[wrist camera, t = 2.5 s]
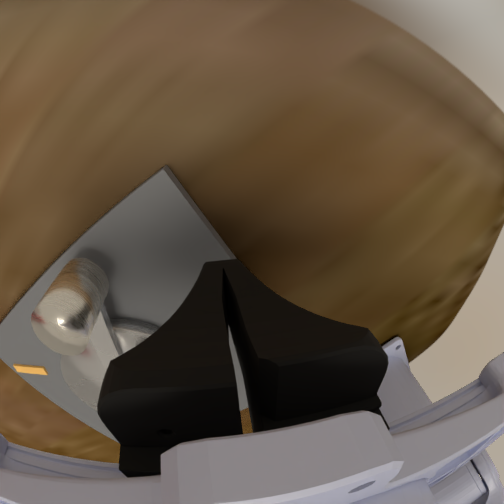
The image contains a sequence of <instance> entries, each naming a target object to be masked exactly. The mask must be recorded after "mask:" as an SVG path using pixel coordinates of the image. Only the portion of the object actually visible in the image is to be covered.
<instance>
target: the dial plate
mask: <svg viewBox="0 0 504 504" xmlns="http://www.w3.org/2000/svg"><path fill="white" fill-rule="evenodd" d="M74 258H86V259H89V260H92V261H93V262H95V263H96V264H98V265H99V266H100V267H101V268H102V269H103V271H104V272H105V274H106V276H107V278H108V282H109V290H108V293H107V296H106V298H105V301H104V305H105V308H106V311H107V314H108V316H109V318H126V319H133V320H138V321H142V322H145V323H148V324H152V325H154V326H157V327H159V328H160V327H161V326H162V325H163V324H164V323H165V322H166V321H167V320H168V319H169V318H170V317H171V316H172V315H173V314H174V313H175V312H176V310H177V309H178V308H179V307H180V305H181V304H182V303H183V301H184V300H185V298H186V297H187V295H188V294H189V292H190V291H191V289H192V287H193V286H194V284H195V282H196V280H197V278H198V276H199V274H200V272H201V270H202V267H203V264H204V263H205V262H210V261H219V260H229V259H237V258H236V257H235V256H234V254H233V253H232V252H231V250H230V249H229V248H228V246H227V245H226V244H225V242H224V241H223V240H222V238H221V237H220V236H219V234H218V233H217V232H216V230H215V229H214V228H213V226H212V225H211V224H210V222H209V221H208V220H207V218H206V217H205V216H204V214H203V213H202V212H201V210H200V209H199V208H198V206H197V205H196V204H195V202H194V201H193V200H192V198H191V197H190V196H189V194H188V193H187V192H186V190H185V189H184V187H183V186H182V185H181V183H180V182H179V181H178V179H177V178H176V177H175V175H174V174H173V173H172V171H171V170H170V168H169V167H168V166H167V165H165V166H164V167H163V168H161V169H160V170H159V171H157V172H156V173H155V174H153V175H152V176H151V177H150V178H148V179H147V180H146V181H144V182H143V183H142V184H141V185H139V186H138V187H137V188H136V189H134V190H133V191H132V192H131V193H129V194H128V195H127V196H126V197H124V198H123V199H122V200H121V201H120V202H118V203H117V204H116V205H115V206H114V207H113V208H111V209H110V210H109V211H108V212H107V213H106V214H104V215H103V216H102V217H101V218H100V219H99V220H98V221H96V222H95V223H94V224H93V225H92V226H91V227H90V228H89V229H88V230H87V231H85V232H84V233H83V234H82V235H81V236H80V237H79V238H78V239H77V240H76V241H75V242H74V243H73V244H72V245H71V246H70V247H69V248H68V249H67V250H66V251H64V252H63V253H62V254H61V255H60V256H59V257H58V258H57V259H56V261H55V262H54V263H53V264H52V265H51V266H50V267H49V268H48V269H47V270H46V271H45V272H44V273H43V274H42V275H41V276H40V277H39V278H38V279H37V280H36V282H35V283H34V284H33V285H32V286H31V287H30V288H29V289H28V290H27V292H26V293H25V294H24V295H23V296H22V297H21V298H20V300H19V301H18V302H17V303H16V304H15V306H14V307H13V308H12V309H11V310H10V312H9V313H8V314H7V315H6V316H5V318H4V319H3V320H2V321H1V323H0V358H1V359H2V360H3V361H4V362H5V363H6V364H7V365H8V366H9V367H10V368H12V369H13V370H14V371H15V372H16V373H17V374H18V375H20V376H21V377H22V378H23V379H24V380H25V381H27V382H28V383H29V384H30V385H32V386H33V387H34V388H35V389H37V390H38V391H39V392H40V393H42V394H43V395H44V396H46V397H47V398H48V399H50V400H51V401H52V402H54V403H55V404H57V405H58V406H60V407H61V408H62V409H64V410H65V411H67V412H68V413H70V414H71V415H73V416H74V417H76V418H77V419H79V420H80V421H82V422H84V423H85V424H87V425H89V426H90V427H92V428H94V429H95V430H97V431H99V432H100V433H102V434H104V435H106V436H107V437H109V438H111V439H113V440H115V441H117V440H116V438H115V437H114V436H113V435H112V434H111V432H110V431H109V430H108V429H107V427H106V426H105V425H104V423H103V422H102V421H101V419H100V417H99V415H98V412H97V411H96V410H95V409H93V408H91V407H90V406H88V405H87V404H86V403H84V402H83V401H82V400H81V399H79V398H78V397H77V396H76V395H75V394H74V393H73V392H72V390H71V389H70V388H69V386H68V385H67V383H66V381H65V380H64V377H63V375H62V371H61V356H62V354H59V353H57V352H55V351H53V350H51V349H50V348H48V347H47V346H46V345H44V344H43V343H42V342H41V341H40V339H39V338H38V337H37V335H36V334H35V332H34V330H33V327H32V324H31V315H32V312H33V311H34V309H35V308H36V306H37V304H38V303H39V301H40V300H41V298H42V297H43V295H44V294H45V292H46V291H47V290H48V288H49V287H50V285H51V284H52V282H53V281H54V280H55V278H56V277H57V275H58V274H59V273H60V271H61V270H62V269H63V267H64V266H65V265H66V263H67V262H68V261H70V260H71V259H74ZM229 345H230V350H231V355H232V360H233V364H234V370H235V376H236V382H237V389H238V398H239V407H240V411H241V410H243V409H245V408H247V407H248V402H247V396H246V391H245V385H244V380H243V375H242V371H241V367H240V364H239V360H238V357H237V353H236V350H235V346H234V343H233V339H232V336H231V332H230V328H229ZM117 442H118V441H117ZM118 443H119V442H118Z"/></svg>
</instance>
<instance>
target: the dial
mask: <svg viewBox="0 0 504 504" xmlns="http://www.w3.org/2000/svg"><path fill="white" fill-rule="evenodd" d="M108 290H109V282H108V278H107V276H106V274H105V272H104V271H103V269H102V268H101V267H100V266H99V265H98V264H96V263H95V262H93V261H92V260H89V259H86V258H74V259H71V260H70V261H68V262H67V263H66V265H65V266H64V267H63V269H62V270H61V271H60V273H59V274H58V275H57V277H56V278H55V280H54V281H53V282H52V284H51V285H50V287H49V288H48V290H47V291H46V292H45V294H44V295H43V297H42V298H41V300H40V301H39V303H38V304H37V306H36V308H35V309H34V311H33V312H32V315H31V324H32V327H33V330H34V332H35V334H36V335H37V337H38V338H39V339H40V341H41V342H42V343H43V344H44V345H46V346H47V347H48V348H50V349H51V350H53V351H55V352H57V353H59V354H62V356H61V371H62V375H63V377H64V380H65V381H66V383H67V385H68V386H69V388H70V389H71V390H72V392H73V393H74V394H75V395H76V396H77V397H78V398H79V399H81V400H82V401H83V402H84V403H86V404H87V405H88V406H90V407H91V408H93V409H95V410H96V411H97V404H98V399H99V395H100V390H101V386H102V382H103V379H104V376H105V373H106V370H107V368H108V366H109V363H110V361H111V360H113V359H115V358H116V357H118V356H120V355H122V354H123V353H125V352H127V351H129V350H130V349H132V348H134V347H135V346H137V345H138V344H140V343H141V342H142V341H144V340H145V339H147V338H148V337H149V336H150V335H152V334H153V333H154V332H155V331H157V330H158V329H159V327H157V326H154V325H152V324H148V323H145V322H142V321H138V320H133V319H126V318H109V316H108V314H107V311H106V308H105V305H104V301H105V298H106V296H107V293H108Z"/></svg>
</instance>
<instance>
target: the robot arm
mask: <svg viewBox="0 0 504 504" xmlns="http://www.w3.org/2000/svg"><path fill="white" fill-rule="evenodd" d="M229 328H230V332H231V336H232V339H233V343H234V346H235V350H236V353H237V357H238V360H239V364H240V367H241V371H242V375H243V380H244V385H245V391H246V396H247V402H248V407H249V413H250V418H251V423H252V429H253V433H249V434H243V431H242V423H241V415H240V407H239V398H238V389H237V382H236V376H235V370H234V364H233V360H232V355H231V350H230V345H229ZM97 412H98V415H99V417H100V419H101V421H102V422H103V423H104V425H105V426H106V427H107V429H108V430H109V431H110V432H111V434H112V435H113V436H114V437H115V438H116V440H117V441H118V442H119V443H120V444H121V446H120V458H119V464H117V463H107V462H98V461H90V460H84V459H77V458H71V457H66V456H61V455H56V454H51V453H47V452H43V451H39V450H35V449H31V448H27V447H23V446H20V445H17V444H13V443H10V442H8V441H7V440H6V438H5V437H4V436H3V435H2V434H1V433H0V504H504V488H503V485H502V484H501V482H500V479H499V474H498V471H497V469H496V467H495V465H494V463H493V462H492V460H491V458H490V456H489V455H488V453H487V451H486V450H485V448H487V447H488V446H489V445H490V444H491V443H493V442H494V441H495V440H496V439H497V438H499V437H500V436H501V435H502V434H503V433H504V352H503V353H502V354H500V355H499V356H497V357H496V358H494V359H492V360H491V361H490V362H489V363H488V364H487V365H486V366H485V368H484V369H483V370H482V372H481V374H480V375H479V378H478V379H476V380H475V381H473V382H471V383H470V384H468V385H466V386H465V387H463V388H461V389H459V390H458V391H456V392H454V393H452V394H450V395H448V396H447V397H445V398H443V399H441V400H439V401H437V402H435V403H433V404H432V402H431V401H430V399H429V398H428V396H427V395H426V393H425V392H424V391H423V389H422V387H421V386H420V384H419V383H418V381H417V380H416V379H415V377H414V376H413V374H412V373H411V371H410V368H409V364H408V360H407V356H406V352H405V349H404V345H403V341H402V339H401V338H400V337H395V338H394V339H392V340H391V341H389V342H388V343H387V344H385V345H384V346H381V345H380V343H379V342H378V340H377V339H376V338H375V337H374V335H373V334H372V333H371V332H370V330H369V329H368V328H364V327H359V326H355V325H350V324H345V323H341V322H337V321H334V320H331V319H328V318H325V317H322V316H319V315H317V314H314V313H312V312H309V311H307V310H305V309H303V308H300V307H298V306H296V305H294V304H293V303H291V302H289V301H287V300H286V299H284V298H282V297H281V296H279V295H277V294H276V293H275V292H273V291H272V290H270V289H269V288H268V287H267V286H265V285H264V284H263V283H262V282H261V281H260V280H258V279H257V278H256V277H255V276H254V275H253V274H252V273H251V272H250V271H249V270H248V269H247V268H246V267H245V266H244V265H243V264H242V263H241V261H240V260H238V259H229V260H219V261H210V262H205V263H204V264H203V267H202V270H201V272H200V274H199V276H198V278H197V280H196V282H195V284H194V286H193V287H192V289H191V291H190V292H189V294H188V295H187V297H186V298H185V300H184V301H183V303H182V304H181V305H180V307H179V308H178V309H177V310H176V312H175V313H174V314H173V315H172V316H171V317H170V318H169V319H168V320H167V321H166V322H165V323H164V324H163V325H162V326H161V327H160V328H159V329H158V330H157V331H155V332H154V333H153V334H152V335H150V336H149V337H148V338H147V339H145V340H144V341H142V342H141V343H140V344H138V345H137V346H135V347H134V348H132V349H130V350H129V351H127V352H125V353H123V354H122V355H120V356H118V357H116V358H115V359H113V360H111V361H110V363H109V366H108V368H107V370H106V373H105V376H104V379H103V382H102V386H101V390H100V395H99V399H98V404H97ZM478 474H479V475H480V477H481V479H482V480H481V479H480V477H479V475H478Z"/></svg>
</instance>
